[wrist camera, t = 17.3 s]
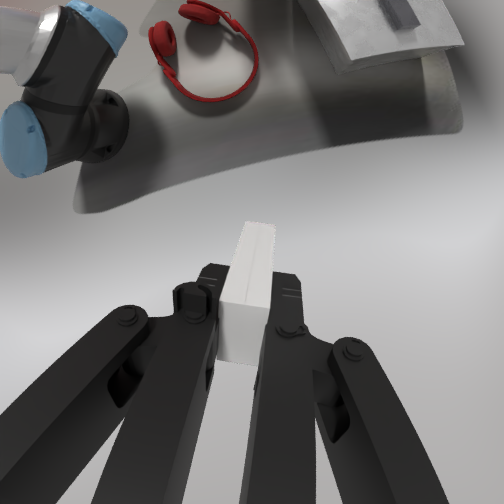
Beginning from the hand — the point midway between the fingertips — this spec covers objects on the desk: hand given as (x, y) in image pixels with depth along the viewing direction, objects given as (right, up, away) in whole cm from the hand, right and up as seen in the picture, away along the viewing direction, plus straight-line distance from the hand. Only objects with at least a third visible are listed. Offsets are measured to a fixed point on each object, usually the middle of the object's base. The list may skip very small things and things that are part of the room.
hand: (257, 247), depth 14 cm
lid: (+17, +35, +5) cm, 39 cm away
